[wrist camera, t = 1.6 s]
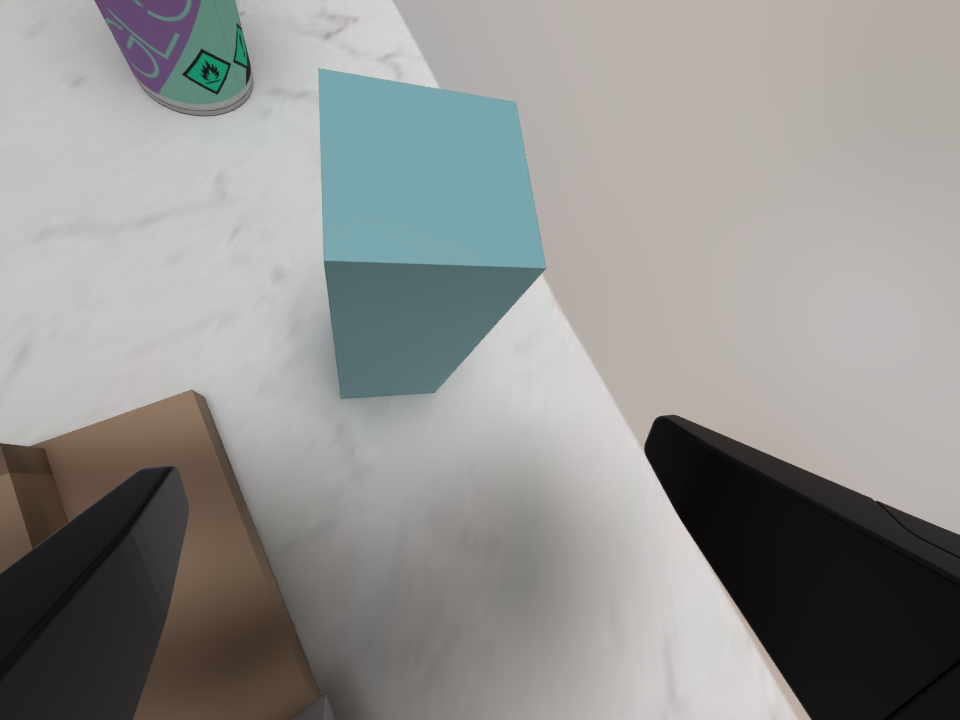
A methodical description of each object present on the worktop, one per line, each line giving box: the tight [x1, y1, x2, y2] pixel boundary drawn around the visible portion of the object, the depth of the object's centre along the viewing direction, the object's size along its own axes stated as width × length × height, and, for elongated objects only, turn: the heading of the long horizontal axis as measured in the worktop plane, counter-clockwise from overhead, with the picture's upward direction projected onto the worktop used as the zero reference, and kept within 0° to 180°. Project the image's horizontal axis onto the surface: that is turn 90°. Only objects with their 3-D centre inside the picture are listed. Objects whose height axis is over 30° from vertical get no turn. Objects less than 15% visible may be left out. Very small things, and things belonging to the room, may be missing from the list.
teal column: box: [318, 68, 546, 399], centre depth 15 cm, size 4×4×13 cm
